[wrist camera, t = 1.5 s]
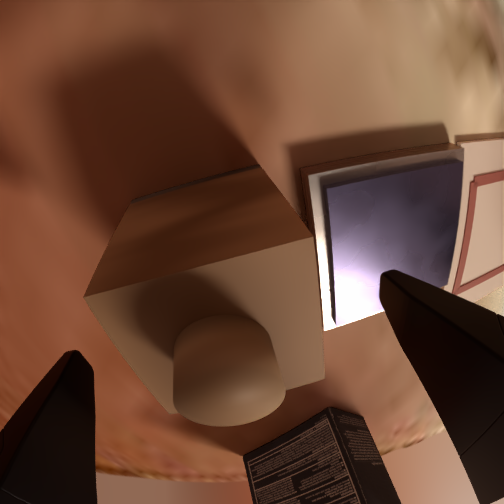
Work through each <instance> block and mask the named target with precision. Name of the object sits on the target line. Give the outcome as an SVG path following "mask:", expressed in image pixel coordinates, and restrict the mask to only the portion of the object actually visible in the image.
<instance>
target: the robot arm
mask: <svg viewBox="0 0 504 504" xmlns="http://www.w3.org/2000/svg"><path fill="white" fill-rule="evenodd" d="M379 299H380V303H381V305H382V307H383V309H384V311H385V313H386V315H387V317H388V320H389V322H390V324H391V326H392V328H393V330H394V333H395V335H396V337H397V339H398V341H399V343H400V345H401V347H402V349H403V351H404V353H405V354H406V356H407V358H408V359H409V361H410V363H411V365H412V366H413V368H414V370H415V372H416V373H417V375H418V377H419V379H420V381H421V382H422V384H423V386H424V388H425V390H426V391H427V393H428V395H429V397H430V399H431V401H432V403H433V405H434V406H435V408H436V410H437V412H438V414H439V416H440V418H441V420H442V422H443V424H444V426H445V428H446V430H447V432H448V434H449V436H450V438H451V440H452V442H453V444H454V446H455V448H456V450H457V452H458V455H459V456H460V459H461V461H462V463H463V466H464V468H465V470H466V473H467V475H468V477H469V479H470V482H471V484H472V486H473V489H474V491H475V494H476V496H477V499H478V501H479V503H480V504H490V503H493V502H495V501H497V500H499V499H501V498H503V497H504V316H501V315H499V314H497V315H496V313H495V312H493V311H490V310H488V309H486V308H484V307H482V306H479V305H477V304H475V303H473V302H471V301H468V300H466V299H464V298H462V297H459V296H457V295H455V294H452V293H450V292H448V291H446V290H443V289H441V288H439V287H436V286H434V285H432V284H429V283H427V282H425V281H422V280H420V279H418V278H415V277H413V276H410V275H408V274H406V273H403V272H401V271H398V270H396V269H391V270H388V271H385V272H383V273H382V274H381V276H380V287H379ZM95 417H96V416H95V394H94V371H93V368H92V366H91V365H90V364H89V363H88V361H87V360H86V359H85V358H84V356H83V355H82V354H81V353H80V352H79V351H78V350H72V351H67V352H65V353H64V354H63V356H62V357H61V358H60V359H59V360H58V361H57V362H56V364H55V365H54V366H53V367H52V368H51V369H50V371H49V372H48V373H47V374H46V375H45V376H44V378H43V379H42V380H41V381H40V382H39V384H38V385H37V386H36V387H35V388H34V390H33V391H32V392H31V393H30V395H29V396H28V397H27V398H26V399H25V401H24V402H23V403H22V404H21V406H20V407H19V408H18V410H17V411H16V412H15V413H14V415H13V416H12V417H11V418H10V420H9V421H8V422H7V424H6V425H5V426H4V429H2V430H1V432H0V504H97V491H96V469H95Z"/></svg>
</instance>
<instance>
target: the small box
mask: <svg viewBox="0 0 504 504" xmlns="http://www.w3.org/2000/svg"><path fill="white" fill-rule="evenodd" d="M243 461H244V465H245V469H246V473H247V477H248V482H249V486H250V491H251V496H252V500H253V504H401V502H400V499H399V497H398V495H397V492H396V490H395V488H394V486H393V484H392V481H391V479H390V477H389V474H388V472H387V470H386V468H385V465H384V463H383V460H382V458H381V456H380V454H379V451H378V449H377V447H376V445H375V442H374V440H373V438H372V436H371V434H370V431H369V429H368V427H367V425H366V422H365V420H364V418H363V417H361V416H358V415H355V414H351V413H348V412H345V411H341V410H338V409H335V408H331V407H329V408H327V409H325V410H323V411H322V412H321V413H319V414H317V415H316V416H314V417H313V418H311V419H309V420H308V421H306V422H305V423H303V424H301V425H300V426H298V427H296V428H295V429H293V430H291V431H290V432H288V433H286V434H284V435H282V436H281V437H279V438H277V439H275V440H274V441H272V442H270V443H268V444H266V445H264V446H262V447H260V448H258V449H256V450H255V451H252V452H250V453H248V454H246V455H244V456H243Z"/></svg>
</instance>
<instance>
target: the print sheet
mask: <svg viewBox="0 0 504 504" xmlns="http://www.w3.org/2000/svg"><path fill="white" fill-rule="evenodd" d="M457 145H458V146H460V147H463V148H464V172H463V187H462V199H461V209H460V217H459V225H458V232H457V239H456V245H455V251H454V257H453V262H452V267H451V272H450V277H449V281H448V285H446V286H443V287H441V289H443V290H446V291H448V292H450V293H452V294H455V295H457V296H459V297H462V298H464V299H466V300H468V301H471V302H475V301H477V300H479V299H481V298H483V297H485V296H486V295H488V294H490V293H492V292H493V291H495V290H497V289H499V288H500V287H502V286H504V138H495V139H483V140H472V141H463V142H457Z"/></svg>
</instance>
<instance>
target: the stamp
mask: <svg viewBox="0 0 504 504" xmlns="http://www.w3.org/2000/svg"><path fill="white" fill-rule="evenodd" d="M83 298H84V299H85V301H86V302H87V304H88V306H89V307H90V309H91V311H92V312H93V314H94V315H95V317H96V318H97V320H98V321H99V323H100V324H101V326H102V328H103V329H104V331H105V332H106V333H107V335H108V336H109V338H110V339H111V341H112V342H113V344H114V345H115V346H116V348H117V349H118V351H119V352H120V353H121V355H122V356H123V358H124V359H125V360H126V362H127V363H128V364H129V366H130V367H131V368H132V370H133V371H134V372H135V373H136V375H137V376H138V377H139V379H140V380H141V381H142V382H143V384H144V385H145V386H146V387H147V389H148V390H149V391H150V392H151V393H152V395H153V396H154V397H155V398H156V399H157V401H158V402H159V403H160V404H161V405H162V406H163V408H164V409H165V410H166V411H167V412H168V413H169V414H175V413H180V414H181V415H182V416H183V417H185V418H187V419H189V420H191V421H193V422H196V423H199V424H203V425H209V426H236V425H242V424H246V423H250V422H253V421H256V420H259V419H261V418H263V417H265V416H267V415H269V414H270V413H272V412H273V411H274V410H276V409H277V408H278V407H279V406H280V404H281V403H282V402H283V400H284V398H285V393H286V391H285V390H289V389H293V388H296V387H299V386H303V385H306V384H309V383H313V382H316V381H319V380H322V379H325V366H324V349H323V333H322V320H321V307H320V295H319V285H318V274H317V264H316V255H315V246H314V238H313V235H312V234H311V233H310V231H309V230H308V228H307V227H306V226H305V224H304V223H303V222H302V220H301V219H300V217H299V216H298V215H297V213H296V212H295V211H294V209H293V208H292V207H291V205H290V204H289V203H288V201H287V200H286V199H285V197H284V196H283V195H282V193H281V192H280V191H279V189H278V188H277V187H276V186H275V184H274V183H273V182H272V180H271V179H270V178H269V176H268V175H267V174H266V173H265V171H264V170H263V169H262V167H261V166H260V165H259V164H258V165H254V166H250V167H246V168H242V169H238V170H234V171H230V172H226V173H222V174H218V175H215V176H211V177H207V178H204V179H200V180H196V181H193V182H189V183H186V184H183V185H179V186H176V187H172V188H169V189H166V190H163V191H159V192H156V193H153V194H150V195H147V196H143V197H140V198H137V199H134V200H132V201H131V203H130V205H129V206H128V208H127V210H126V212H125V214H124V215H123V217H122V219H121V221H120V223H119V225H118V226H117V228H116V230H115V232H114V234H113V236H112V238H111V240H110V242H109V244H108V246H107V248H106V250H105V252H104V254H103V256H102V258H101V260H100V262H99V264H98V266H97V268H96V270H95V273H94V275H93V277H92V279H91V281H90V284H89V286H88V288H87V290H86V293H85V295H84V297H83Z"/></svg>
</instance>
